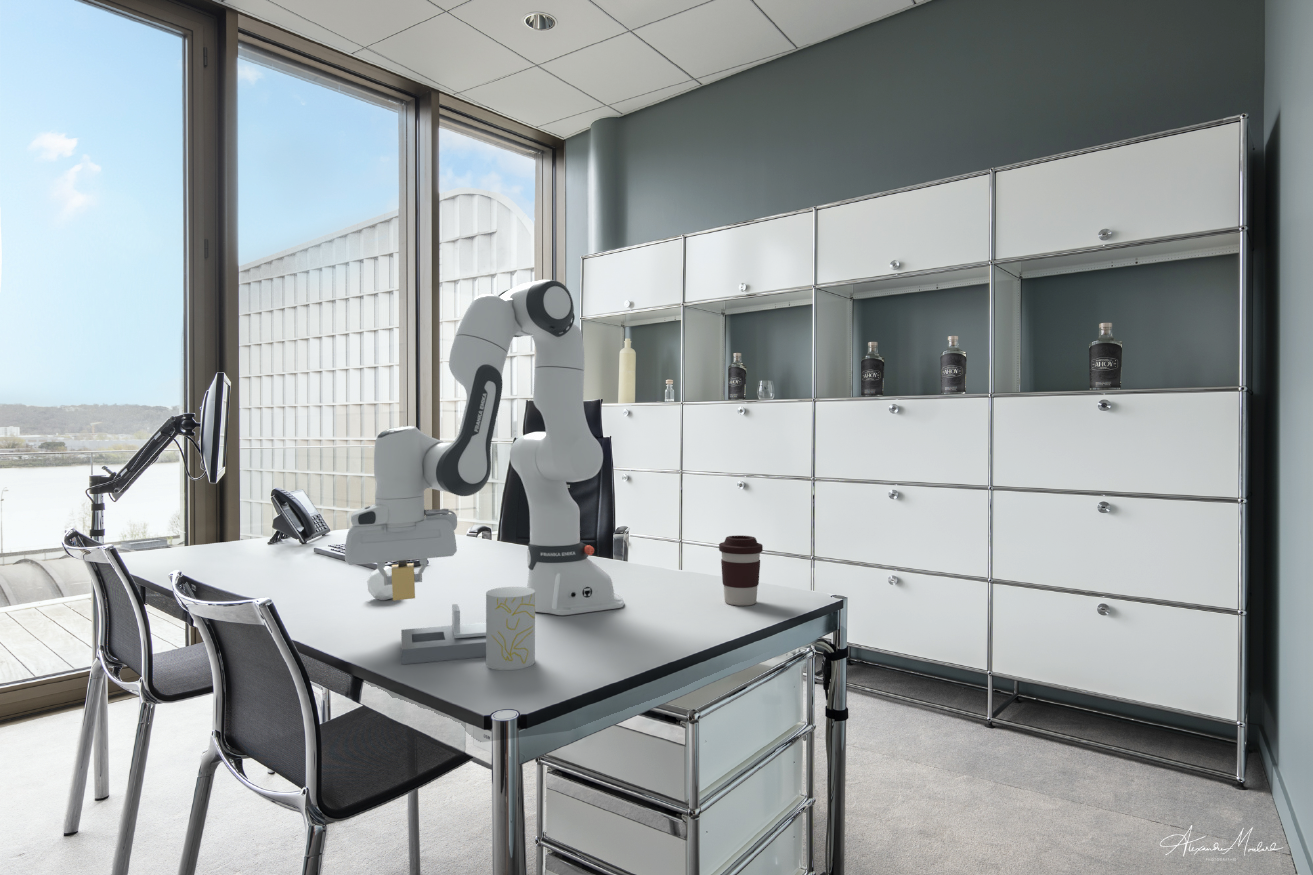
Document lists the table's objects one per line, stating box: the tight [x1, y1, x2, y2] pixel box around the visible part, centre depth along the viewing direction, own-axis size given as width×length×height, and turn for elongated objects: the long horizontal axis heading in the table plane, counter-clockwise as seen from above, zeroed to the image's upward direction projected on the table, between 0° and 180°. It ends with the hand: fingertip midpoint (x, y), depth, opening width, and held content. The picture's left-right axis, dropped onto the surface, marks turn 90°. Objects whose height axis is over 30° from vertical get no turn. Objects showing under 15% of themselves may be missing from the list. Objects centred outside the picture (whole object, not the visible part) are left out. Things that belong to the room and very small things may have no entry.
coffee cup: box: [718, 535, 764, 607], centre depth 169 cm, size 10×10×15 cm
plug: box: [391, 560, 416, 601], centre depth 142 cm, size 4×4×8 cm
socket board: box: [400, 625, 486, 665], centre depth 133 cm, size 13×15×2 cm
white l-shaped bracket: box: [451, 603, 486, 638], centre depth 134 cm, size 7×6×5 cm
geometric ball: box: [366, 565, 393, 601], centre depth 171 cm, size 8×8×8 cm
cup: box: [485, 586, 536, 671], centre depth 125 cm, size 8×8×12 cm
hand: (403, 583), depth 142 cm, fingers closed on plug, 4 cm apart
